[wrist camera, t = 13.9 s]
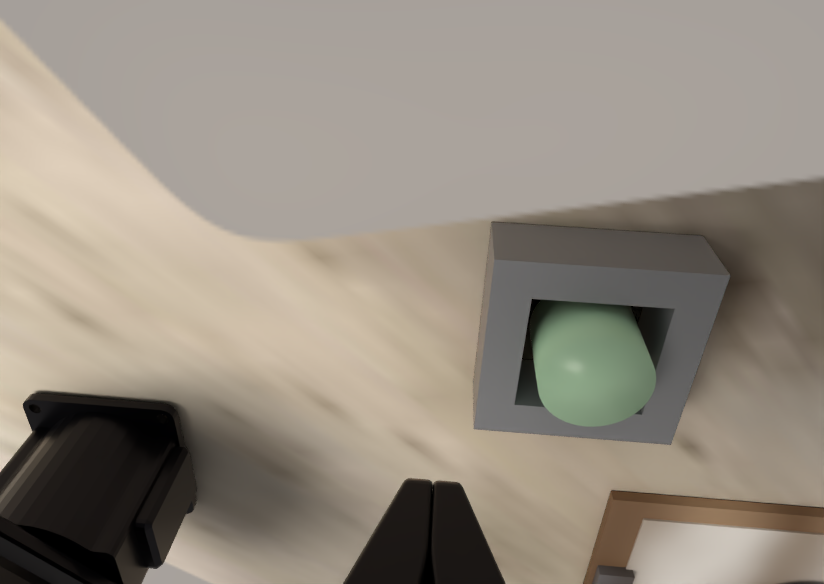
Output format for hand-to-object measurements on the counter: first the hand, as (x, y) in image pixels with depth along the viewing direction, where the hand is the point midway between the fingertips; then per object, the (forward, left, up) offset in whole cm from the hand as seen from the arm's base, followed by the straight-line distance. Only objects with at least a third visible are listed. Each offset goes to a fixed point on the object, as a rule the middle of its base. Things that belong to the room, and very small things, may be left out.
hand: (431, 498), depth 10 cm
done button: (+5, -5, -12) cm, 14 cm away
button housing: (+5, -5, -13) cm, 15 cm away
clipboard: (+15, -21, -13) cm, 29 cm away
